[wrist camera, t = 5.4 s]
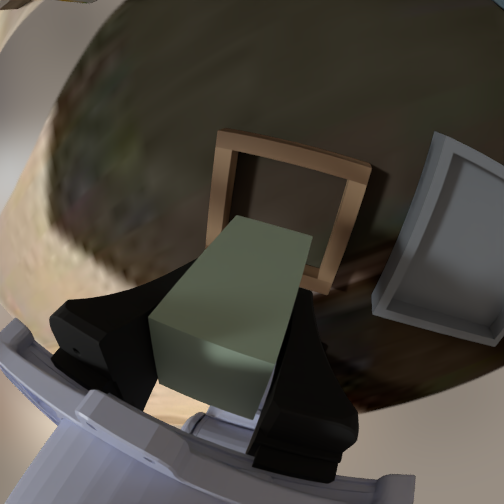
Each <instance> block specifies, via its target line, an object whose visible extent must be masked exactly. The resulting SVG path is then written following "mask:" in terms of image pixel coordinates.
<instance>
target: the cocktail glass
mask: <svg viewBox="0 0 504 504" xmlns="http://www.w3.org/2000/svg"><path fill="white" fill-rule="evenodd" d="M493 1H494V2H495V3H496V4H497V5H498V6H500V7H501V8H502V9H503V10H504V0H493Z"/></svg>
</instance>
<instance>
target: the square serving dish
mask: <svg viewBox="0 0 504 504" xmlns="http://www.w3.org/2000/svg"><path fill="white" fill-rule="evenodd" d="M29 1H31V0H0V10H8V9H18V8H20V7H21V6H23V5H24V4H26V3H27V2H29Z"/></svg>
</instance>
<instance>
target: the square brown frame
mask: <svg viewBox="0 0 504 504" xmlns="http://www.w3.org/2000/svg"><path fill="white" fill-rule="evenodd" d="M238 152H244V153H248V154H253V155H257V156H262V157H266V158H270V159H275V160H279V161H283V162H287V163H291V164H295V165H299V166H302V167H306V168H310V169H313V170H317V171H321V172H324V173H328V174H331V175H335V176H338V177H341V178H345V179H348V180H347V183H346V187H345V190H344V193H343V197H342V200H341V204H340V207H339V210H338V213H337V217H336V220H335V223H334V226H333V229H332V232H331V236H330V239H329V242H328V245H327V248H326V251H325V254H324V257H323V260H322V263H321V266H320V268H316V267H313V266H310V265H306V264H305V267H304V271H303V274H302V278H301V282H300V285H299V287H302V288H305V289H309V290H312V291H315V292H319V293H322V294H325V295H328V293H329V290H330V288H331V285H332V283H333V280H334V278H335V275H336V273H337V270H338V267H339V265H340V262H341V259H342V257H343V254H344V251H345V249H346V246H347V243H348V240H349V238H350V235H351V232H352V229H353V226H354V223H355V220H356V217H357V214H358V211H359V208H360V205H361V202H362V199H363V196H364V193H365V190H366V187H367V183H368V180H369V177H370V173H371V170H372V167H371V165H370V163H367V162H364V161H360V160H357V159H354V158H351V157H348V156H344V155H341V154H337V153H334V152H330V151H327V150H323V149H320V148H316V147H312V146H308V145H304V144H300V143H296V142H292V141H288V140H283V139H279V138H275V137H270V136H265V135H261V134H256V133H251V132H245V131H240V130H235V129H229V128H224V129H221V130H218V133H217V141H216V149H215V157H214V166H213V175H212V184H211V193H210V203H209V213H208V224H207V236H206V248H205V250H206V249H207V247H208V246H209V245H210V244H211V243H212V242H213V241H214V240H215V238H216V237H217V236H218V235H219V234H220V233H221V232H222V231H223V230H224V228H225V227H226V226H227V225H228V223H229V216H230V208H231V201H232V194H233V187H234V179H235V172H236V166H237V159H238Z"/></svg>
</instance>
